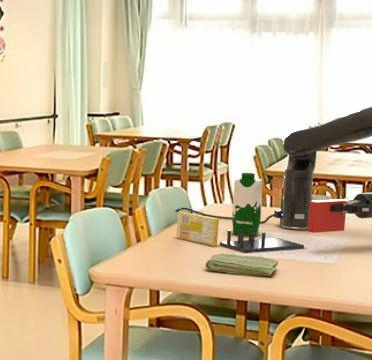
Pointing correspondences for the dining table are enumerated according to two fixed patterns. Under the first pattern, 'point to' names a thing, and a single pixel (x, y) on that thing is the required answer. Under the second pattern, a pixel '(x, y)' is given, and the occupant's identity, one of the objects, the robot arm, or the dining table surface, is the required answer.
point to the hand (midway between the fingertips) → (328, 207)
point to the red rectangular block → (325, 217)
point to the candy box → (197, 228)
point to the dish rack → (258, 243)
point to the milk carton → (247, 204)
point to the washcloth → (241, 264)
